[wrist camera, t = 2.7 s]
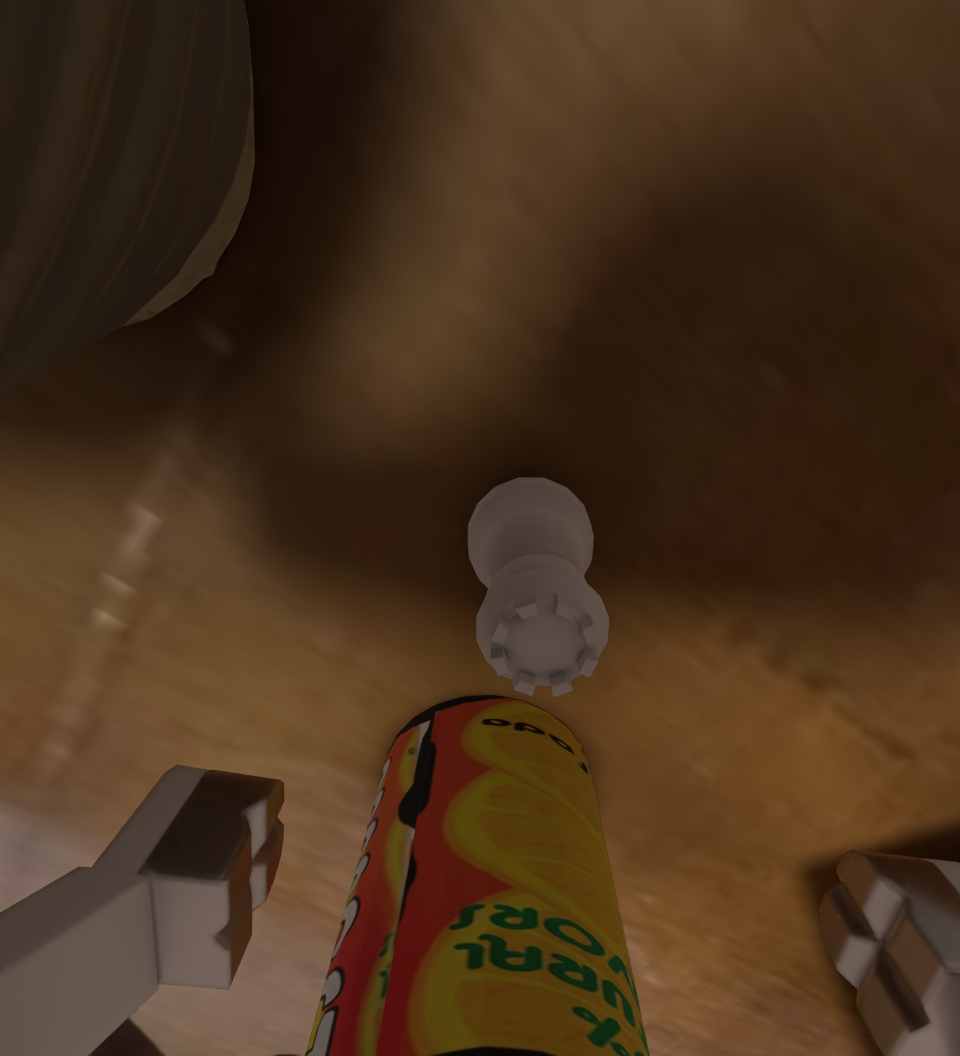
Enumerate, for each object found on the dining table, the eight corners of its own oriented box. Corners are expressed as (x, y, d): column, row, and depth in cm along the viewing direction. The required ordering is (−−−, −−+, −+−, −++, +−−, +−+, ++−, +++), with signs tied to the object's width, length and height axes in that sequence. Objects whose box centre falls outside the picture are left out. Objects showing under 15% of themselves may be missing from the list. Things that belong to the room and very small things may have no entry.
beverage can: (535, 663, 22) (572, 1013, 11) (623, 820, 24) (730, 1241, 13) (345, 743, 24) (199, 1121, 12) (445, 883, 26) (403, 1306, 15)
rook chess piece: (597, 578, 21) (653, 718, 13) (480, 597, 21) (468, 742, 13) (581, 462, 19) (633, 544, 12) (456, 485, 20) (427, 579, 12)
